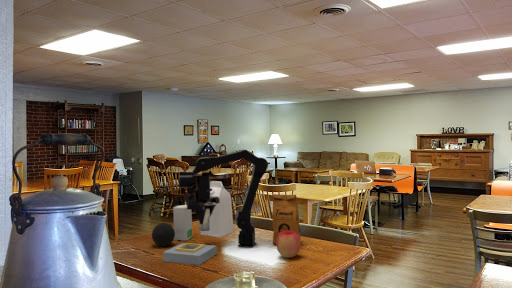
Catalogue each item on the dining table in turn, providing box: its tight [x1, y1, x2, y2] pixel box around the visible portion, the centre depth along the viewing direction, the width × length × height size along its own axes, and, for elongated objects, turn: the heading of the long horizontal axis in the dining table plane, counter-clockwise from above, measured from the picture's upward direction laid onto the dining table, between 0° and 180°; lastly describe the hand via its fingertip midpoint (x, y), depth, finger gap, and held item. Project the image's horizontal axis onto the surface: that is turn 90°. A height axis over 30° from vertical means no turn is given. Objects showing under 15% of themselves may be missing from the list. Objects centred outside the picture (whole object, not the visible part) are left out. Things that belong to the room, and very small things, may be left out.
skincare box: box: [172, 204, 193, 242], centre depth 181 cm, size 8×7×16 cm
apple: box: [275, 230, 302, 259], centre depth 149 cm, size 10×10×10 cm
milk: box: [200, 180, 235, 238], centre depth 190 cm, size 12×12×26 cm
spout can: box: [193, 208, 210, 232], centre depth 165 cm, size 7×5×9 cm
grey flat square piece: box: [162, 242, 218, 266], centre depth 151 cm, size 16×14×4 cm
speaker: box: [151, 222, 175, 247], centre depth 170 cm, size 10×10×10 cm
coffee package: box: [271, 193, 302, 245], centre depth 168 cm, size 10×12×22 cm
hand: (204, 222), depth 164 cm, fingers closed on spout can, 5 cm apart
